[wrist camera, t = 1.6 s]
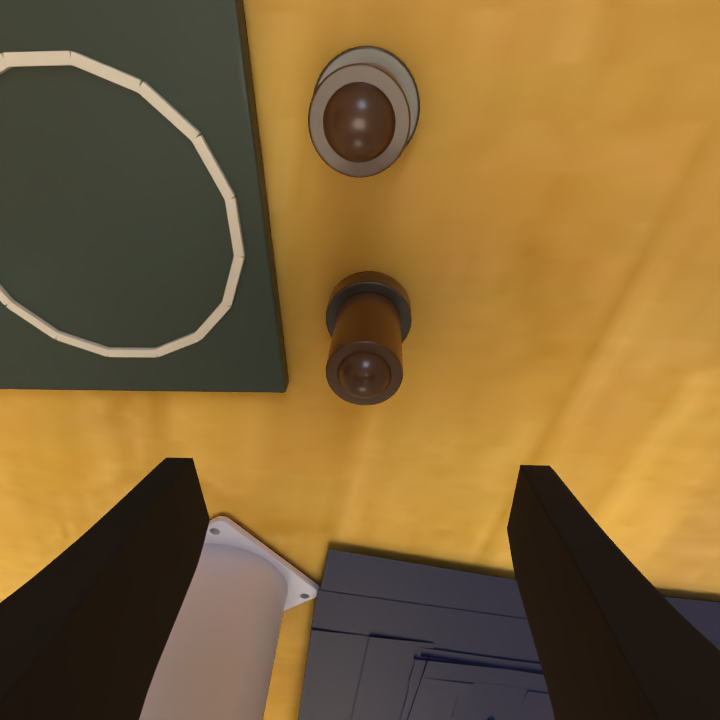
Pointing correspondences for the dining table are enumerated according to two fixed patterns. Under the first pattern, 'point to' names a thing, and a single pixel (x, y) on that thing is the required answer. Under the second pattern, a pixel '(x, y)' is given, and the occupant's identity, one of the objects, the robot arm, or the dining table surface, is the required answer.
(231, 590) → the robot arm
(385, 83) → the stamp
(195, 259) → the slate board
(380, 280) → the stamp
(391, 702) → the dark blue flat slab
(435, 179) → the dining table surface
